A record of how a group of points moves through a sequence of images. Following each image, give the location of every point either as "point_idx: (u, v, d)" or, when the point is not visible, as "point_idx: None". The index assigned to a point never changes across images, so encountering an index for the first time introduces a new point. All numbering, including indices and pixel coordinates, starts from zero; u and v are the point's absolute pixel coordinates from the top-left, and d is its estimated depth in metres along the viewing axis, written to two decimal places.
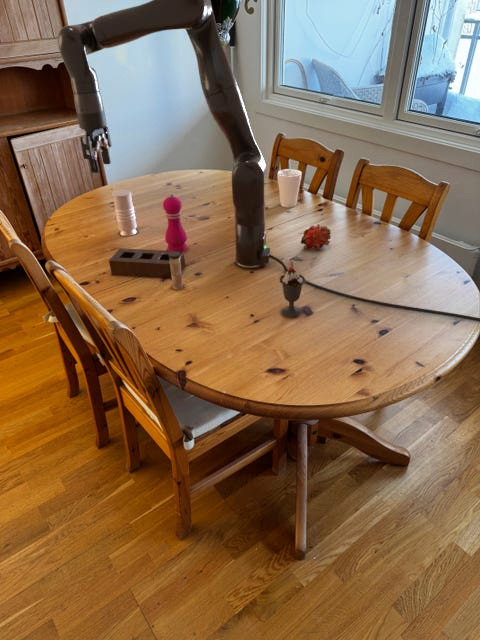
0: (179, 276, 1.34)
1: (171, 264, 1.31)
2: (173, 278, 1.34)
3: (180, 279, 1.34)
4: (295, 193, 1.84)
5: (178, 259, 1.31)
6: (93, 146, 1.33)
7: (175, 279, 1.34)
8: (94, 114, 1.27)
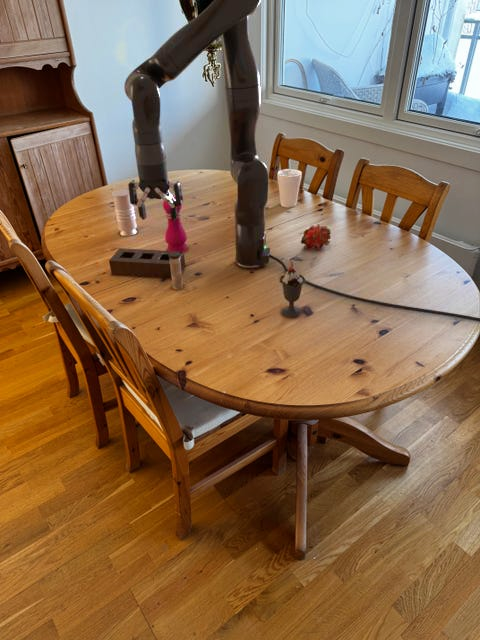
0: (179, 276, 1.34)
1: (171, 264, 1.31)
2: (173, 278, 1.34)
3: (180, 279, 1.34)
4: (295, 193, 1.84)
5: (178, 259, 1.31)
6: None
7: (175, 279, 1.34)
8: (137, 165, 1.19)
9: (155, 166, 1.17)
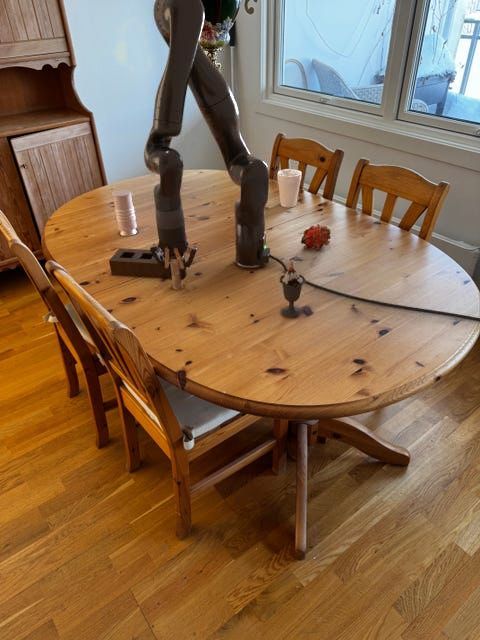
0: (179, 276, 1.34)
1: (171, 264, 1.31)
2: (173, 278, 1.34)
3: (180, 279, 1.34)
4: (295, 193, 1.84)
5: None
6: None
7: (175, 279, 1.34)
8: (158, 228, 1.24)
9: (175, 230, 1.23)
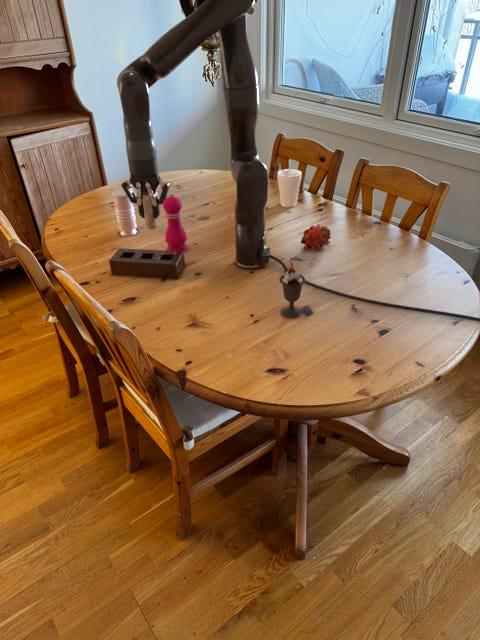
0: (152, 214, 1.30)
1: (143, 201, 1.28)
2: (146, 217, 1.30)
3: (153, 218, 1.31)
4: (295, 193, 1.84)
5: None
6: None
7: (148, 218, 1.30)
8: (128, 160, 1.21)
9: (145, 161, 1.20)
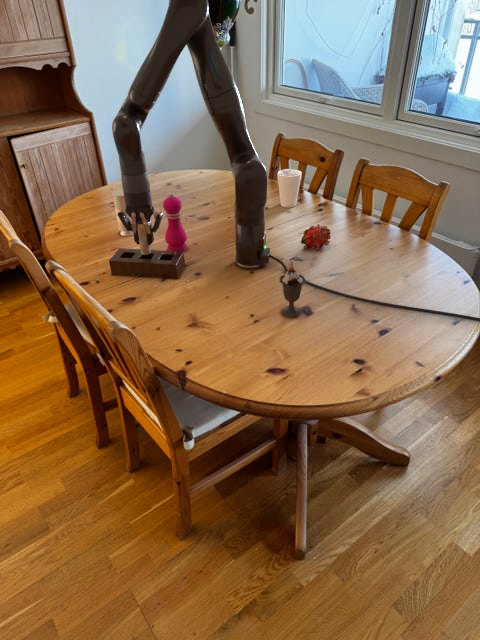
0: (146, 241, 1.39)
1: (138, 229, 1.37)
2: (141, 243, 1.39)
3: (147, 244, 1.40)
4: (295, 193, 1.84)
5: None
6: None
7: (143, 244, 1.39)
8: (124, 192, 1.30)
9: (139, 194, 1.29)
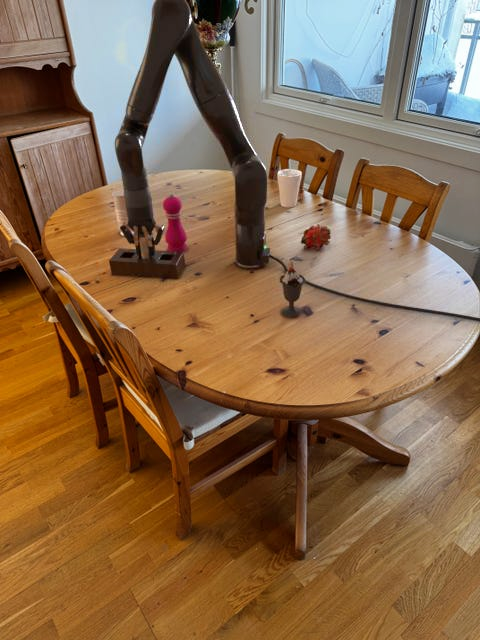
0: (148, 254, 1.41)
1: (140, 242, 1.39)
2: (142, 256, 1.42)
3: (149, 257, 1.42)
4: (295, 193, 1.84)
5: None
6: None
7: (145, 257, 1.42)
8: (126, 207, 1.32)
9: (142, 208, 1.31)
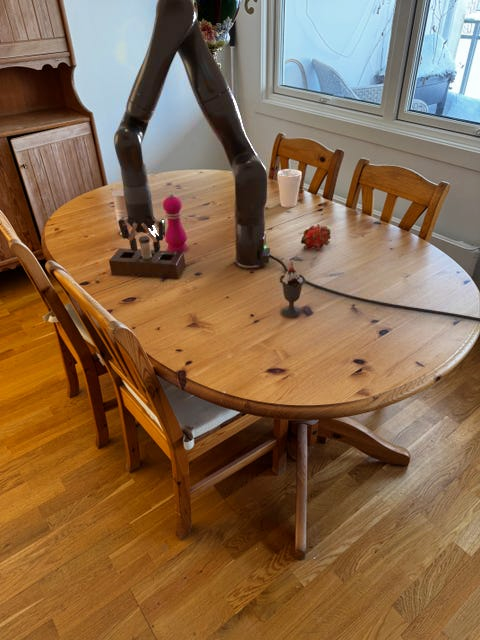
0: None
1: (141, 248, 1.41)
2: None
3: None
4: (295, 193, 1.84)
5: (148, 243, 1.40)
6: None
7: None
8: (125, 203, 1.32)
9: (141, 205, 1.30)
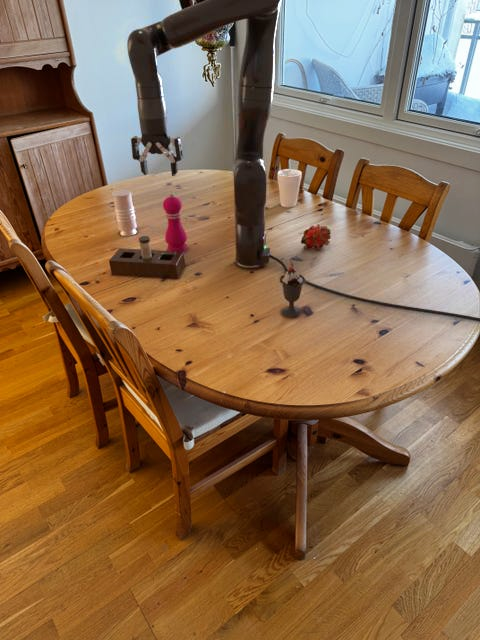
0: None
1: (141, 248, 1.41)
2: None
3: None
4: (295, 193, 1.84)
5: (148, 243, 1.40)
6: None
7: None
8: (140, 119, 1.25)
9: (156, 120, 1.23)
